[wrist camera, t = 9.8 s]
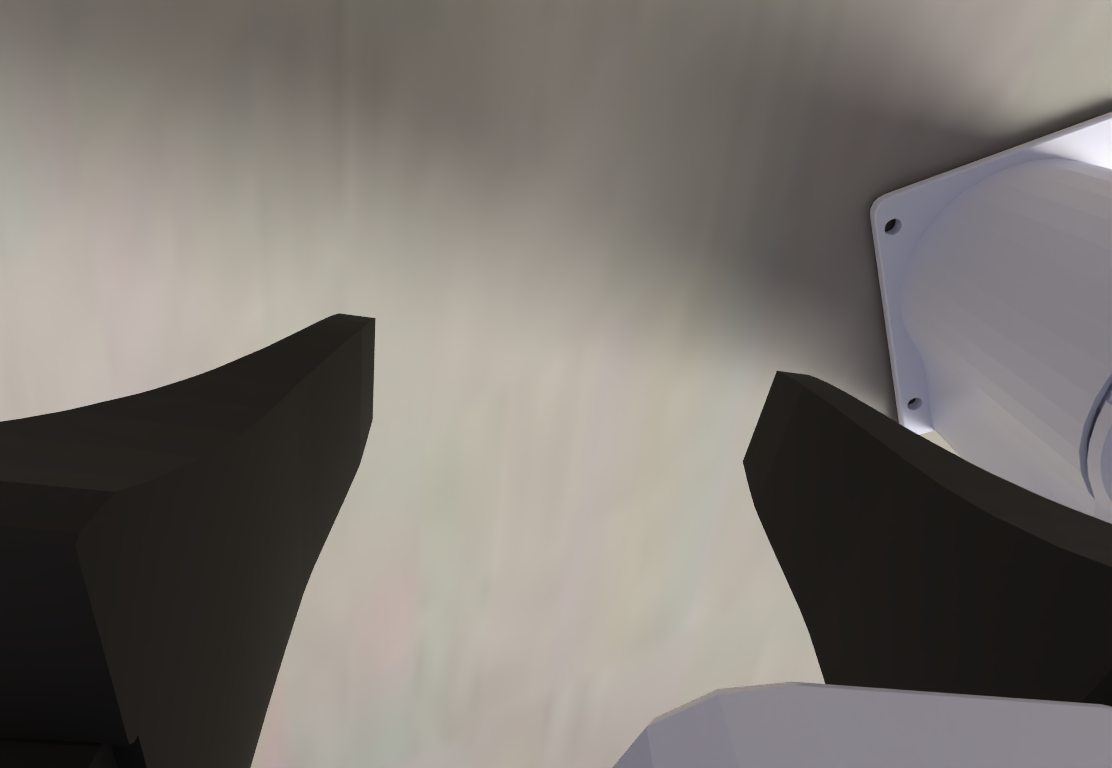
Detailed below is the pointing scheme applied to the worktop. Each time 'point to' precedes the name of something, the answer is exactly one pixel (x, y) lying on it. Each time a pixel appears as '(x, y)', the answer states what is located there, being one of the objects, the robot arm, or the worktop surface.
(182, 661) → the robot arm
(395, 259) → the worktop surface
